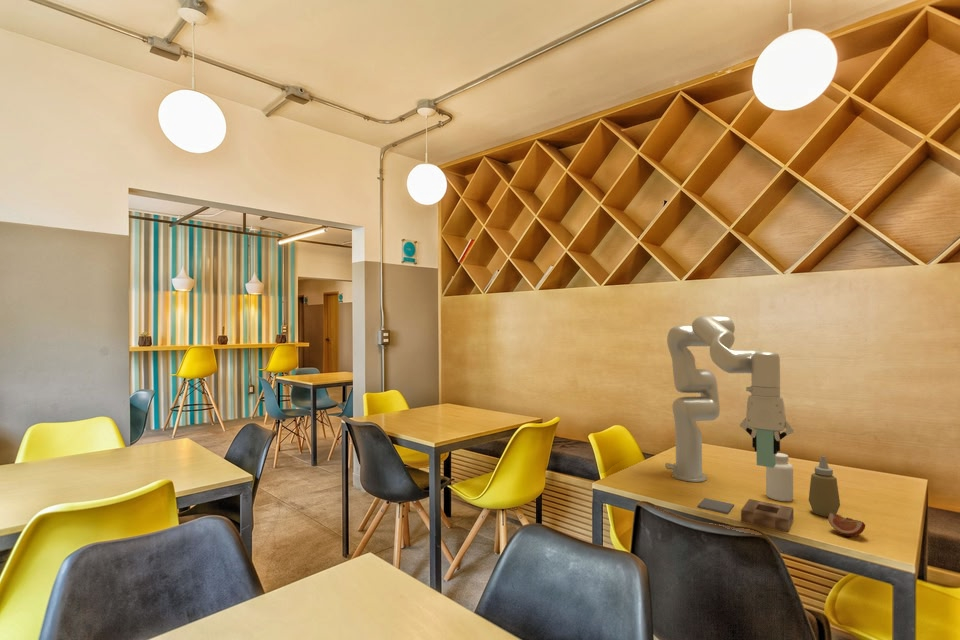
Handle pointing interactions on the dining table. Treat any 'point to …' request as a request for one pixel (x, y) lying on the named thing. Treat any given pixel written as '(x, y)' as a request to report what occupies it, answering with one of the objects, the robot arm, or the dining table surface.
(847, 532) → the fruit slice
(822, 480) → the squeeze bottle
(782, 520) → the pocket base
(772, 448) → the teal block
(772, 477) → the pill bottle
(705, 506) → the rubber mat
